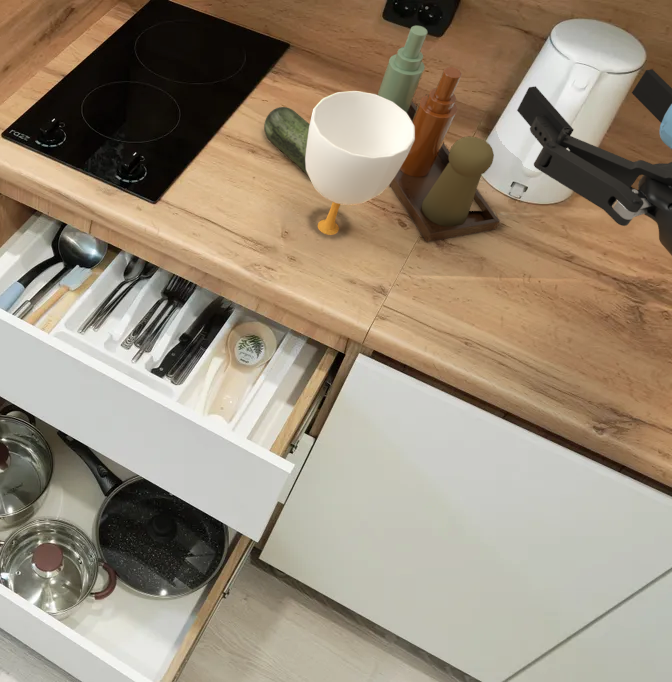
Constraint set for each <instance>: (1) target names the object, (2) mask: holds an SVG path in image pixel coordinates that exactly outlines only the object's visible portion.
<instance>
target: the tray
mask: <svg viewBox="0 0 672 682" xmlns="http://www.w3.org/2000/svg"><path fill="white" fill-rule="evenodd" d="M417 107H418V106H417V105H416V104H415V103H414V101H413V100H412V102H411V105H410V107H409V110H408V113H407V114H408V116H409V118H410V119H411V121H412V120H413V117H414V115H415V112H416V110H417ZM449 152H450V150H449V149H448V148H447V146H446V145H445V144H444V143H443V144H442V146H441V148H440V151H439V153H438V155H437V157H436V160H435V162H434V164H433V166H432V168H431V171H430V172H429V174H427V175H426V176H423V177H413V176H409V175H407V174H405V173H403V172H402V171H401V170H400V169H399V171H398V173H397V174H396V176H395V177H394V179H393V180H392V182H391V183H390V184H389V187H390V188H391V190H392V192H393V193H394V194H395V196H396V197H397V198H398V201H399V202H400V203H401V205H402V207H403V208H404V210H405V212H406V213H407V215H408V216H409V217H410V219H411V220H412V222H413V224H414V225H415V227H416V228H417V230H418V231H419V233H420V235H421V236H422V238H423V239H424V241H425V242H426V243H430V242H436V241H441V240H445V239H452V238H457V237H463V236H467V235H472V234H479V233H483V232H489V231H495V230H496V229H497V227H498V226H499V224H500V222H501V220H500V219H499V218H498V216H497V215H496V213H495V212H494V211H493V209H492V208H491V206H490V205H489V204H488V203H487V201H486V200H485V198H484V197H483V195H482V194H481V193H480V192H479V190H478V189H476V192H475V195H474V198H473V201H475V203H476V204H477V205H478V206H479V208H480V209H481V210H469V213H468V216H467V219H466V221H465V222H464V223H463V224H461V225H457V226H451V227H444V226H441V225H438V224H436V223H434V222H432V221H430V220H429V219H428V218H427V217H426V216H425V214H424V213H423V211H422V203H423V201H424V199H425V198H426V196H427V195H428V193H429V192H430V190H431V189H432V187H433V186H434V184H435V183H436V181H437V180H438V178H439V177H440V175H441V174H442V172H443V171H444V169H445V168H446V166H447V165H448V163H449V159H448V158H449Z"/></svg>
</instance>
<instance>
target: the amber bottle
mask: <svg viewBox="0 0 672 682" xmlns="http://www.w3.org/2000/svg"><path fill="white" fill-rule="evenodd" d="M461 77H462V71H461V70H459V69H458V68H456V67H453V66H448V67H447V66H446V67H445V68H444V69H443V71H442V74H441V75H440V79H439V81H438V82H437V83H438V84H437V86H436V87H434V88H432V89H431V90H430V91H429V93H428V94H426V95H423V96H422V97H421V99H420V100H419V102H418V105H417V106H416V107H417V110H416V112H415V115H414V117H413V120H412V123H413V124H414V126H415V141H414V143H413V145H412V147H411V149H410V151H409V153H408V155H407V157H406V159H405V161H404V163H403V164H402V166H401V168H400V170H401V171H402V172H403V173H405V174H407V175H409V176H413V177H423V176H426V175H427V174H429V172H430V171H431V168H432V166H433V164H434V162H435V160H436V157H437V155H438V153H439V151H440V148H441V146H442V144H444V142H445V139H446V137H447V135H448V133H449V130H450V129H451V126H452V124H453V121H454V120H455V117H456V115H457V112H458V106H457V104H456V101H457V97H456V94H455V92H456V89H457V87H458V84H459V83H460V80H461Z"/></svg>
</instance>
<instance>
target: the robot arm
mask: <svg viewBox="0 0 672 682" xmlns="http://www.w3.org/2000/svg"><path fill="white" fill-rule="evenodd" d="M631 94H632V95H633V96H634V97H635V98H636V99H637V100H638V101H639V102H640V103H641V104H642V105H643V106H644V107H645V108H646V109H647V111H648V112H650V113H651V115H653V117H655V119H657V120H658V122H660V125H659V137H660V139H661V141H662V142H663V144H664V145H666V146H667V147H668V148H669V149H670V150H672V86H670V84H668V83H667V82H666V81H665V80H664V79H663V78H662V77H661V76H660V75H659V74H658V72H656V71H655V70H654V69H653V68H652V69H646V70H645V71H644V73H643V74H642V76H641V77H640V79H639V80H638V82H637V84H636V85H635V86H634V88H633V90H632V92H631ZM516 112H518V113H519V115H520V116H521V117H522V118H523V119H524V121H525V122H526V123H527V124H528V125H529V126H530V127H529V131H530V133H531V135H533V136H534V138H535V139H536V141H537V142H538V143H539V144H540V146H542V149H541V150H540V151H539V153H538V155H537V156H536V159H535V161H534V162H533V166H534V168H535V169H537V170H538V171H540V172H541V173H543V174H545V175H546V176H548V177H550V178H551V179H553V180H554V181H556V182H558V183H559V184H561V185H562V186H564V187H566V188H567V189H569V190H571V191H572V192H574V193H576V194H577V195H579V196H581V197H582V198H584V199H585V200H587V201H589V202H590V203H592V204H594V205H595V206H597V207H598V208H599V209H602V210H603V211H604V212H605V213H606V214H607V215H608V216H609V217H610V218H611V219H612V221H614V222H615V223H616V224H618V225H620V226H622V227H625V226H628V225H629V224H630V223H631V221H632V220H633V219H634V218H636V217H639V216H641V215H644V216H646V217H648V218H649V219H651V220H653V221H654V222H655V223H656V225H657V227H658V228H657V229H658V240H659V242H660V244H661V245H662V246H663V248H664V249H665V250H666V251H667V253H669V254H670V255H671V256H672V161H670V162H669V163H660V162H658V163H650V162H648V161H646V160H643V159H642V160H641V159H639V160H635V161H632V160H630V159H627V158H625V157H622V156H620V155H618V154H615V153H613V152H611V151H608V150H605V149H603V148H601V147H598V146H596V145H593V144H591V143H588V142H587V141H585V140H581V139H579V138H577V137H574V136H572V133H573V132H574V130H575V129H574V128H573V127H572V126H571V125H570V123H568V121H567V120H566V119H565V118H564V116H562V114H561V113H560V112H559V111H558V109H556V108H555V107H554V105H553V104H552V103H551V102H550V101H549V100H548V99H547V97H546V96H545V95H544V94H543V92H541V91H540V89H539V88H538V87H537V86H536V85H535V86H529V87H528V88H527V90H526V92H525V94H524V96H523V98H522V100H521V102H520V104H519V106H518V107H517V109H516ZM640 176H641V178H640V179H639V181H638V185H637V186H638V188H635V187H632V186H633V185H634V183H635V182H636V181H637V179H638V178H639V177H640Z"/></svg>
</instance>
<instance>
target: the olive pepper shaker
mask: <svg viewBox="0 0 672 682" xmlns="http://www.w3.org/2000/svg"><path fill="white" fill-rule="evenodd" d="M494 156H495V153H494V149H493V147H492V145H490V144H489V142H487V141H486V140H484V139H483V138H479V137H477V136H472V135H471V136H469V135H468V136H464V137H461V138H459V139H457V140H456V141H455V142H454V143H453V144H452V146H451V147H450V149H449V158H448V159H449V163H448V165H447V166H446V168H445V169H444V171H443V172H442V174H441V175H440V177H439V178H438V180H437V181H436V183H435V184H434V186H433V187H432V189H431V190H430V192H429V193H428V195H427V196H426V198H425V199H424V201H423V203H422V211H423V213H424V214H425V216H426V217H427V218H428V219H429V220H430V221H432V222H434V223H436V224H438V225H441V226H444V227H451V226H457V225H461V224H463V223H464V222H465V221H466V219H467V216H468V213H469V211H471V207H472V204H473V202H474V195H475V192H476V189H477V188H478V186H479V183H480V181H481V177H482V175H484V174H485V173H486V172H487V171H488V170H489V169H490V168H491V166H492V165H493V162H494V158H495V157H494ZM477 190H478V189H477Z"/></svg>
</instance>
